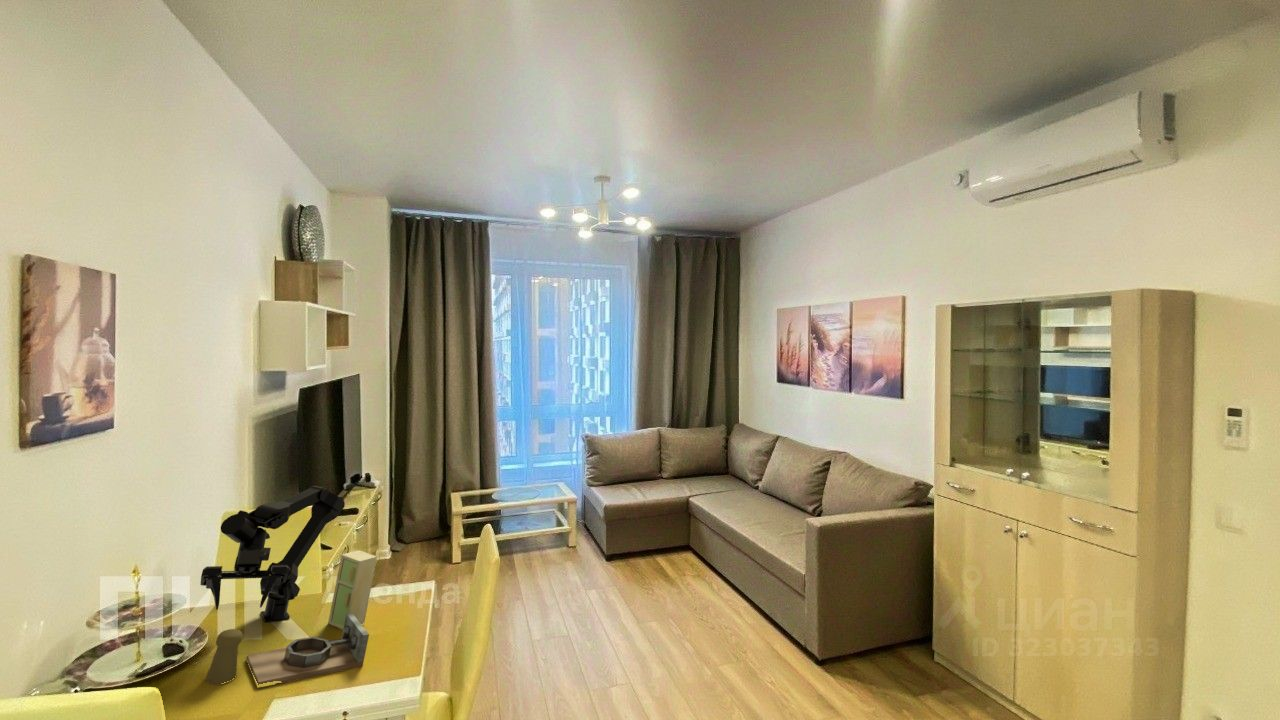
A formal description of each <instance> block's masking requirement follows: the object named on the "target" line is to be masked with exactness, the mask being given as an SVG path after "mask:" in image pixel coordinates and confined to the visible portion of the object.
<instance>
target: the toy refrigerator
mask: <svg viewBox="0 0 1280 720" xmlns="http://www.w3.org/2000/svg"><path fill="white" fill-rule="evenodd" d="M377 559H378V558H377V556H376V555H374V554H371V553H369V552H365V551H363V550H359V549H358V550H353V551H351V552H346V553H343V554H341V556H340V561H339V565H338V570H337V576H336V581H335V586H334V591H333V596H332V601H331V606H330V612H329V617H328V622H327V623H328V625H329V626H333V627H335V628H338V629H339V630H342V631H343V628H344V623H345V618H346V614H348V613H353V615H354V616H355V617H356V618H357V620H358V621H359V622H360V623H361V624H363V623H364V624H365V622H366V615H367V611H368V605H369V600H370V596H371V590H372V584H373V580H374V575H375V569H376V563H377Z"/></svg>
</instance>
